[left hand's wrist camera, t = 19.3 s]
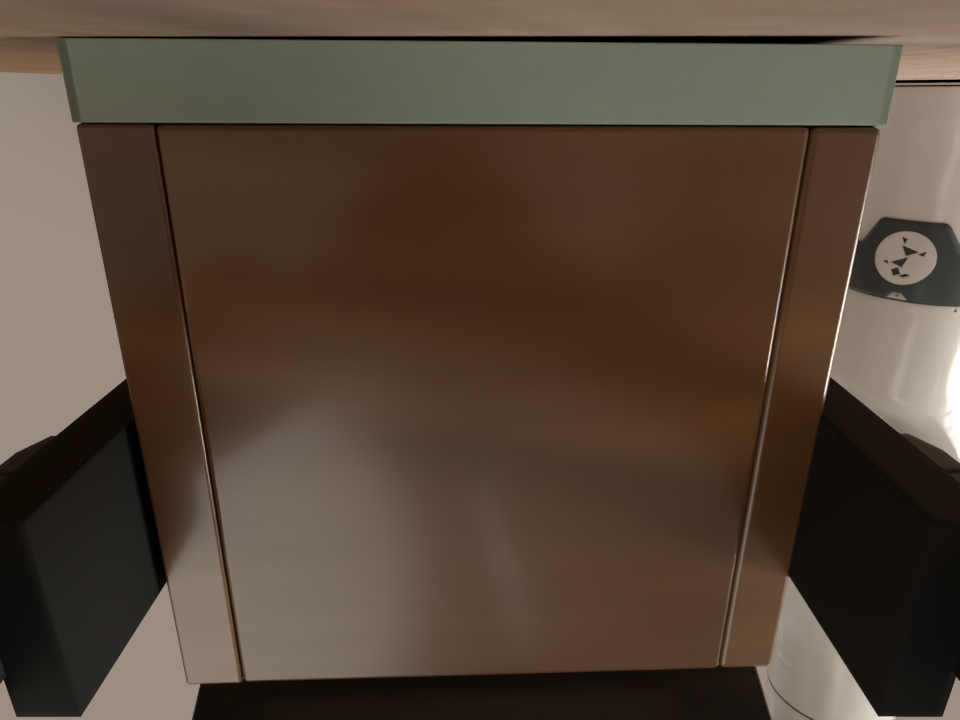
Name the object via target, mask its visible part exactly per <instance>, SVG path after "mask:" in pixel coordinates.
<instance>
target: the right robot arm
mask: <svg viewBox="0 0 960 720" xmlns="http://www.w3.org/2000/svg"><path fill="white" fill-rule="evenodd" d="M874 127H876V128H878V129H879V131H880V137H879V142H878V147H877V152H876V157H875V161H874V166H873V171H872V176H871V181H870V186H869V190H868V195H867V200H866V205H865V210H864V215H863V219H862V224H861V229H860V234H859V239H858V244H857V249H856V253H855V258H854V263H853V268H852V273H851V278H850V282H849V287H848V292H847V297H846V302H845V307H844V311H843V316H842V321H841V326H840V331H839V336H838V340H837V345H836V350H835V355H834V360H833V365H832V369H831V374H830V377H831V378H832V379H834V380H835V381H836V382H837V383H838V384H840V385H841V386H842V387H843V388H845V389H846V390H847V391H848V392H849V393H851V394H852V395H853V396H854V397H856V398H857V399H858V400H859V401H861V402H862V403H863V404H864V405H865V406H867V407H868V408H869V409H870V410H872V411H873V412H874V413H875V414H876V415H878V416H879V417H880V418H881V419H883V420H884V421H885V422H886V423H887V424H889V425H890V426H891V427H892V428H894V429H895V430H896V431H897V432H899V433H900V434H910V435H912V436H914V437H917V438H919V439H921V440H923V441H925V442H927V443H929V444H931V445H933V446H935V447H938V448H940V449H942V450H944V451H945V452H946V453H947V454H949V455H950V456H951V457H953V458H954V459H955V460H956V461H958V462H959V463H960V85H895V87H894V92H893V97H892V102H891V106H890V111H889V116H888V121H887V125H878V126H874ZM765 698H766V702H767V705H768V708H769V712H770V715H771V718H772V720H895V718H896V717H878V715H877V714H876V712H875V711H874V709H873V708H872V706H871V704H870V703H869V701H868V700H867V698H866V697H865V695H864V693H863V692H862V690H861V689H860V687H859V686H858V684H857V682H856V681H855V679H854V678H853V676H852V675H851V673H850V671H849V670H848V668H847V667H846V665H845V664H844V662H843V660H842V659H841V657H840V656H839V654H838V653H837V651H836V649H835V648H834V646H833V645H832V643H831V642H830V640H829V638H828V637H827V635H826V634H825V632H824V631H823V629H822V627H821V626H820V624H819V623H818V621H817V620H816V618H815V616H814V615H813V613H812V612H811V610H810V609H809V607H808V605H807V604H806V602H805V601H804V599H803V598H802V596H801V594H800V593H799V591H798V590H797V588H796V587H795V585H794V583H793V582H792V580H791V579H790V577H789V578H788V582H787V587H786V592H785V597H784V602H783V607H782V611H781V616H780V621H779V626H778V631H777V636H776V640H775V645H774V650H773V655H772V660H771V663H770V665H768V666H767V673H766V681H765Z"/></svg>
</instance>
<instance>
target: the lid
mask: <svg viewBox="0 0 960 720" xmlns="http://www.w3.org/2000/svg"><path fill="white" fill-rule="evenodd" d="M192 720H772V718H771V715H770V712H769V708H768V705H767V702H766V698H765V695H764V692H763V689H762V685H761V682H760V679H759V675H758V672H757V669H756V666H754V667H722V666H721V665H718V666H717V667H715V668H699V669H665V670H631V671H597V672H563V673H529V674H495V675H461V676H427V677H393V678H359V679H325V680H291V681H257V682H247V681H245V680H244V678H243V680H242V682H240V683H218V684H200V688H199V692H198V696H197V700H196V705H195V709H194V713H193V718H192Z"/></svg>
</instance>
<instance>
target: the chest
mask: <svg viewBox="0 0 960 720" xmlns="http://www.w3.org/2000/svg"><path fill="white" fill-rule="evenodd" d="M56 42H57V47H58V52H59V57H60V62H61V67H62V72H63V77H64V82H65V87H66V92H67V97H68V101H69V107H70V112H71V116H72V121H73V122H81V124H78V125H77V132H78V137H79V142H80V147H81V151H82V157H83V162H84V167H85V172H86V177H87V182H88V187H89V192H90V197H91V202H92V207H93V212H94V217H95V222H96V227H97V232H98V237H99V242H100V248H101V253H102V257H103V263H104V268H105V273H106V278H107V283H108V288H109V293H110V298H111V303H112V308H113V313H114V318H115V323H116V328H117V333H118V338H119V343H120V348H121V353H122V358H123V363H124V368H125V373H126V378H127V383H128V389H129V394H130V399H131V404H132V409H133V414H134V419H135V424H136V429H137V434H138V439H139V444H140V449H141V454H142V459H143V464H144V469H145V474H146V479H147V484H148V489H149V494H150V499H151V504H152V509H153V514H154V519H155V524H156V529H157V535H158V540H159V545H160V550H161V555H162V560H163V565H164V570H165V575H166V580H167V585H168V590H169V595H170V600H171V605H172V610H173V615H174V620H175V625H176V630H177V635H178V640H179V645H180V650H181V655H182V660H183V665H184V670H185V675H186V680H187V683H188V684H218V683H240V682H242V680H243V678H244V680H245V681H247V682H257V681H291V680H325V679H359V678H393V677H427V676H461V675H495V674H529V673H563V672H597V671H631V670H665V669H699V668H715V667H717V666H718V663H719V664H720V665H721V666H722V667H754V666H768V665H770V663H771V660H772V655H773V650H774V645H775V640H776V636H777V631H778V626H779V621H780V616H781V611H782V607H783V602H784V597H785V592H786V587H787V582H788V578H789V573H790V568H791V563H792V558H793V553H794V548H795V544H796V539H797V534H798V529H799V524H800V519H801V515H802V510H803V505H804V500H805V495H806V490H807V485H808V480H809V475H810V470H811V466H812V461H813V456H814V451H815V446H816V441H817V436H818V431H819V426H820V421H821V416H822V413H823V408H824V403H825V399H826V394H827V389H828V384H829V379H830V374H831V369H832V365H833V360H834V355H835V350H836V345H837V340H838V336H839V331H840V326H841V321H842V316H843V311H844V307H845V302H846V297H847V292H848V287H849V282H850V278H851V273H852V268H853V263H854V258H855V253H856V249H857V244H858V239H859V234H860V229H861V224H862V219H863V215H864V210H865V205H866V200H867V195H868V190H869V186H870V181H871V176H872V171H873V166H874V161H875V157H876V152H877V147H878V142H879V137H880V131H879V129H878V128H876V127H874V126H878V125H887V121H888V116H889V111H890V106H891V102H892V97H893V92H894V87H895V82H896V78H897V73H898V68H899V63H900V58H901V54H902V49H903V45H863V44H746V43H630V42H513V41H397V40H280V39H164V38H56Z"/></svg>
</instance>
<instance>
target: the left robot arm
mask: <svg viewBox="0 0 960 720" xmlns="http://www.w3.org/2000/svg"><path fill="white" fill-rule="evenodd" d="M789 577H790V579H791V580H792V582H793V583H794V585H795V587H796V588H797V590H798V591H799V593H800V594H801V596H802V598H803V599H804V601H805V602H806V604H807V605H808V607H809V609H810V610H811V612H812V613H813V615H814V616H815V618H816V620H817V621H818V623H819V624H820V626H821V627H822V629H823V631H824V632H825V634H826V635H827V637H828V638H829V640H830V642H831V643H832V645H833V646H834V648H835V649H836V651H837V653H838V654H839V656H840V657H841V659H842V660H843V662H844V664H845V665H846V667H847V668H848V670H849V671H850V673H851V675H852V676H853V678H854V679H855V681H856V682H857V684H858V686H859V687H860V689H861V690H862V692H863V693H864V695H865V697H866V698H867V700H868V701H869V703H870V704H871V706H872V708H873V709H874V711H875V712H876V714H877V715H878V717H942V716H943V713H944V710H945V707H946V705H947V702H948V699H949V696H950V693H951V690H952V687H953V684H954V681H955V678H956V677H957V678H958V679H959V681H960V463H959V462H958V461H956V460H955V459H954V458H953V457H951V456H950V455H949V454H947V453H946V452H945V451H944V450H942V449H940V448H938V447H935V446H933V445H931V444H929V443H927V442H925V441H923V440H921V439H919V438H917V437H914V436H912V435H910V434H900V433H899V432H897V431H896V430H895V429H894V428H892V427H891V426H890V425H889V424H887V423H886V422H885V421H884V420H883V419H881V418H880V417H879V416H878V415H876V414H875V413H874V412H873V411H872V410H870V409H869V408H868V407H867V406H865V405H864V404H863V403H862V402H861V401H859V400H858V399H857V398H856V397H854V396H853V395H852V394H851V393H849V392H848V391H847V390H846V389H845V388H843V387H842V386H841V385H840V384H838V383H837V382H836V381H835V380H834V379H832V378H831V377H830V379H829V384H828V389H827V394H826V399H825V403H824V408H823V413H822V416H821V421H820V426H819V431H818V436H817V441H816V446H815V451H814V456H813V461H812V466H811V470H810V475H809V480H808V485H807V490H806V495H805V500H804V505H803V510H802V515H801V519H800V524H799V529H798V534H797V539H796V544H795V548H794V553H793V558H792V563H791V568H790V573H789ZM166 582H167V580H166V575H165V570H164V565H163V560H162V555H161V550H160V545H159V540H158V535H157V529H156V524H155V519H154V514H153V509H152V504H151V499H150V494H149V489H148V484H147V479H146V474H145V469H144V464H143V459H142V454H141V449H140V444H139V439H138V434H137V429H136V424H135V419H134V414H133V409H132V404H131V399H130V394H129V389H128V383H127V379H125V380H124V381H123V382H122V383H121V384H119V385H118V386H117V387H116V388H114V389H113V390H112V391H111V392H109V393H108V394H107V395H106V396H105V397H103V398H102V399H101V400H100V401H98V402H97V403H96V404H95V405H93V406H92V407H91V408H90V409H89V410H87V411H86V412H85V413H84V414H82V415H81V416H80V417H79V418H78V419H76V420H75V421H74V422H73V423H71V424H70V425H69V426H68V427H67V428H65V429H64V430H63V431H62V432H60V433H59V434H58V435H57V436H50V437H48V438H46V439H44V440H42V441H40V442H38V443H36V444H34V445H31V446H29V447H27V448H25V449H23V450H21V451H19V452H17V453H15V454H14V455H13V456H12V457H10V458H9V459H8V460H6V461H5V462H4V463H3V464H1V465H0V683H1V682H2V681H3V680H4V682H5V684H6V687H7V690H8V693H9V696H10V699H11V702H12V705H13V708H14V711H15V713H16V716H17V717H81V715H82V714H83V712H84V711H85V709H86V708H87V706H88V704H89V703H90V701H91V700H92V698H93V697H94V695H95V693H96V692H97V690H98V689H99V687H100V686H101V684H102V682H103V681H104V679H105V678H106V676H107V675H108V673H109V671H110V670H111V668H112V667H113V665H114V664H115V662H116V660H117V659H118V657H119V656H120V654H121V653H122V651H123V649H124V648H125V646H126V645H127V643H128V642H129V640H130V638H131V637H132V635H133V634H134V632H135V631H136V629H137V627H138V626H139V624H140V623H141V621H142V620H143V618H144V616H145V615H146V613H147V612H148V610H149V609H150V607H151V605H152V604H153V602H154V601H155V599H156V598H157V596H158V594H159V593H160V591H161V590H162V588H163V587H164V585H165V583H166Z"/></svg>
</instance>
